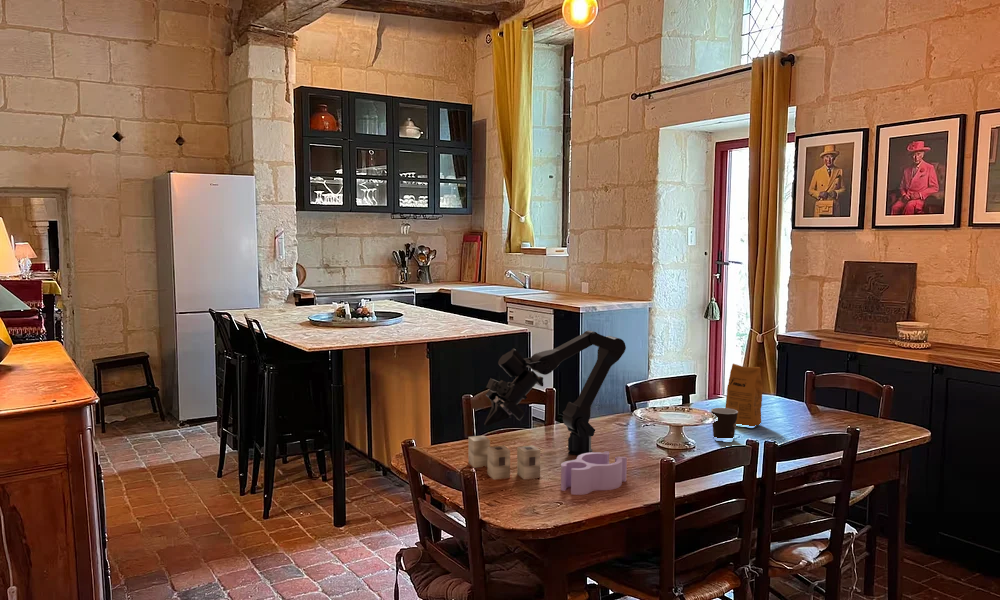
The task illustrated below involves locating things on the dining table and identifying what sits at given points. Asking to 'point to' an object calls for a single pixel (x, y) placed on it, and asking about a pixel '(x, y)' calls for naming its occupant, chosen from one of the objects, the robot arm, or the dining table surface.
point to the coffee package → (745, 394)
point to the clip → (593, 473)
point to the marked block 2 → (528, 462)
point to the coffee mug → (724, 422)
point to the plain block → (478, 451)
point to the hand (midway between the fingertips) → (485, 425)
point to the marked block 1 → (498, 462)
